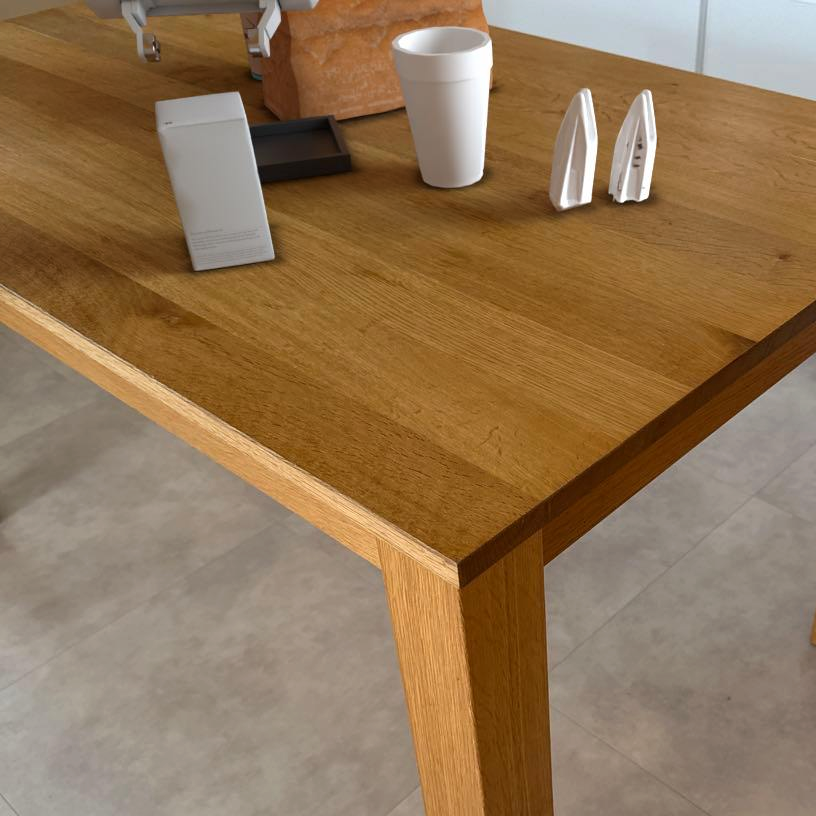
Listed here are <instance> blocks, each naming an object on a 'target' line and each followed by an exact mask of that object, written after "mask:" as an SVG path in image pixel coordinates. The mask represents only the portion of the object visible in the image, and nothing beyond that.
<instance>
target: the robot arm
mask: <svg viewBox="0 0 816 816" xmlns="http://www.w3.org/2000/svg"><path fill="white" fill-rule="evenodd" d="M318 1H319V0H83V2H84V4H86V6H87V7H88V9H90V10H91V11H92V12H93V14H94V15H96V17H98V18H99V19H101V20H113V19H124V20H125V21H126V23H127V25H128V26H129V27H130V29H131V30H132V32H133V34H134V35H135V36H136V37H135V38H136V52H137V56H138V58H139V59H140V61H141V62H142V63H143V64H145V63H146V64H147V63H149V64H150V63H161V62H162V56H161V55H160V54H161V43H160V42H159V40H158V39H157V37H156V36H155V34H154V32H151V33H149V32H147V33H144V31H143V30H142V28H146V27H148V26H147V18H158V17H180V16H181V17H183V16H201V15H203V16H205V15H226V14H240V13H252V12H262V14H263V16H262V18H261V20H260V22H259V24H258V26H257V28H256V29H247V31H248V38H249V41H248V47H249V51H250V53H251V54H252V57H253V58H260V57H270V48H269V39H271V38H272V36H273V34H274V32H275V31H276V29H277V27H278V25H279V24H280V22H281V13H280V11H296V10H311V9H313V8H314V7H315V6H316V4H317V3H318Z"/></svg>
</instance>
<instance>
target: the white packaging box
mask: <svg viewBox="0 0 816 816" xmlns="http://www.w3.org/2000/svg"><path fill="white" fill-rule="evenodd" d="M243 103H244V102H243V101H242V97H241V94H240V92H239V91H229V92H221V93H212V94H203V95H196V96H189V97H181V98H175V99H174V98H173V99H166V100H159V101H155V102H154V109H155V121H156V122H155V123H156V125H155V126H156V134H157V138H158V140H159V141H158V142H159V144H160V148H161V153H162V156H163V160H164V164H165V167H166V169H167V170H166V171H167V175H168V179H169V182H170V185H171V189H172V193H173V196H174V201H175V205H176V208H177V212H178V215H179V219H180V223H181V226H182V230H183V234H184V238H185V240H186V245H187V249H188V250H187V251H188V253H189V257H190V261H191V265H192V269H193V271H195V272H198V271H207V270H211V269H212V270H213V269H219V268H227V267H234V266H240V265H248V264H253V263H254V264H255V263H261V262H267V261H268V262H269V261H272V260H274V259H275V251H274V245H273V241H272V240H273V239H272V236H271V231H270V225H269V221H268V216H267V210H266V205H265V200H264V195H263V190H262V185H261V184H262V183H260V180H259V175H258V170H257V165H256V160H255V155H254V150H253V146H252V141H251V136H250V131H249V126H248V125H249V123H248V118H247V115H246V111H245V107H244V104H243Z"/></svg>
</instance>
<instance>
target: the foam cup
mask: <svg viewBox="0 0 816 816" xmlns="http://www.w3.org/2000/svg"><path fill="white" fill-rule="evenodd" d="M489 36H490V34H489V35H488V34H487V33H485V32H483V31H480V30H477V29H474V28H465V27H455V26H452V27H431V28H424V29H418V30H413V31H410V32H407V33H404V34H402V35H399V36H397V37H396V38H395V39H394V40H393V41H392V50H393V59H394V68H395V70H396V72H397V75H398V76H399V81H400V85H401V89H402V94H403V98H404V102H405V106H406V107H405V111H406V115H407V120H408V123H409V126H410V127H409V128H410V132H411V137H412V142H413V145H414V149H415V154H416V157H417V162H418V166H419V170H420V173H421V179H422V181H423V182H424V183H426V184H428V185H429V186H431V187H438V188H443V189H448V188H449V189H453V188H461V187H467V186H470V185H473V184H475V183H477V182H479V181H480V180H481V179H482V177H483V175H484V171H483V170H484V169H485V156H486V155H485V153H486V139H487V138H486V137H487V123H488V111H489V95H490V89H489V82H490V68H491V67H492V68H493V65H494V64H493V63H494V62H493V44H492V43H493V42H492V38H491V36H490V37H489Z"/></svg>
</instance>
